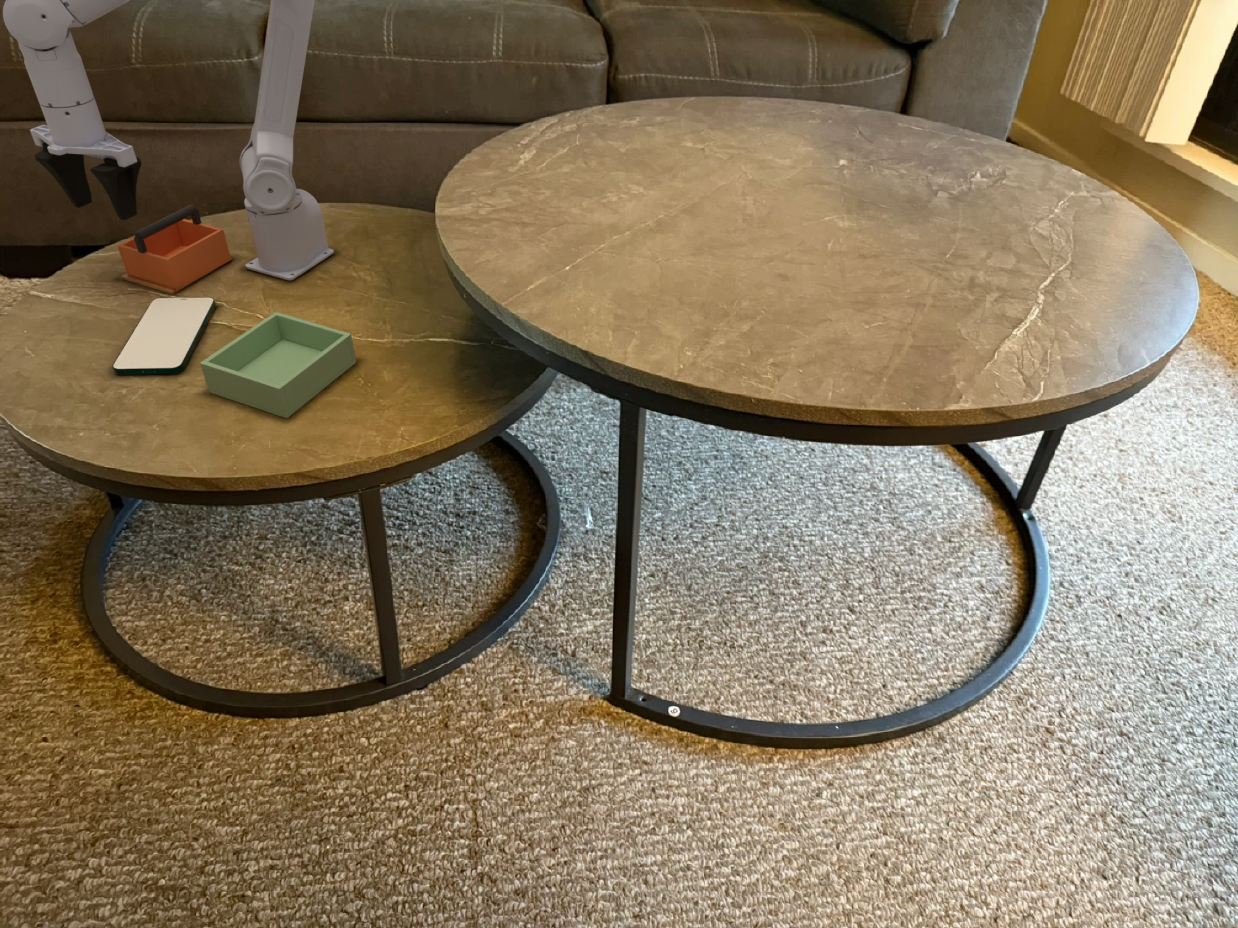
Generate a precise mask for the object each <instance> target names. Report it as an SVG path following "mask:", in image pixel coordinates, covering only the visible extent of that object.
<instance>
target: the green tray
mask: <svg viewBox="0 0 1238 928" xmlns="http://www.w3.org/2000/svg"><path fill="white" fill-rule="evenodd" d="M356 363H357V359H356V352H355V346H354V341H353V336H352V333H349V332H347V331H343V330H339V329H336V328H333V327H329V326H326V325H322V324H319V323H316V322H312V321H309V320H305V319H303V318H300V317H299V318H298V317H295V316H292V315H289V314H285V313H282V312H278V311H275V312H274V313H272V314H270V315H269V316H268V317H265V318H264V319H263V320H261V321H259V322H258V323H257V324H256V325H254V326H252V327H251V328H250V329H248V330H247V331H245V332H243V333H242V334H241V335H239V336H237V337H236V338H234V339H233V340H231V341H230V342H228V343H227V344H226V345H224V346H223V347H221V348H220V349H218V350H217V351H216V352H214V353H212V354H210V356H207V357H206V358H205V359H203V360H202V361H200V362H199V364H200V368H201V371H202V374H203V378H204V380H205V383H206V386H207V389H208V392H209V393H210V394H213V395H216V396H219V397H221V398H225V399H228V400H231V401H233V402H237V403H240V404H242V405H246V406H249V407H252V408H255V409H256V410H257V409H258V410H261V411H264V412H267V413H269V414H272V415H275V416H279V417H282V418H284V419H288V418H290V416H292V415H293V414H295V413H296V412H297V411H298V410H299V409H301V408H302V407H303V406H305V405H306V404H307V403H309V402H310V400H312V399H313V398H315V396H317V395H318V394H319V393H321V392H322V391H323V390H324V389H326V387H329V385H330V384H332V383H333V382H334V381H336V379H338V378H339V377H341V375H343V374H344V373H345V372H346V371H348V370H349V369H350V368H351V367H353V366H354V365H355V364H356Z"/></svg>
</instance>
